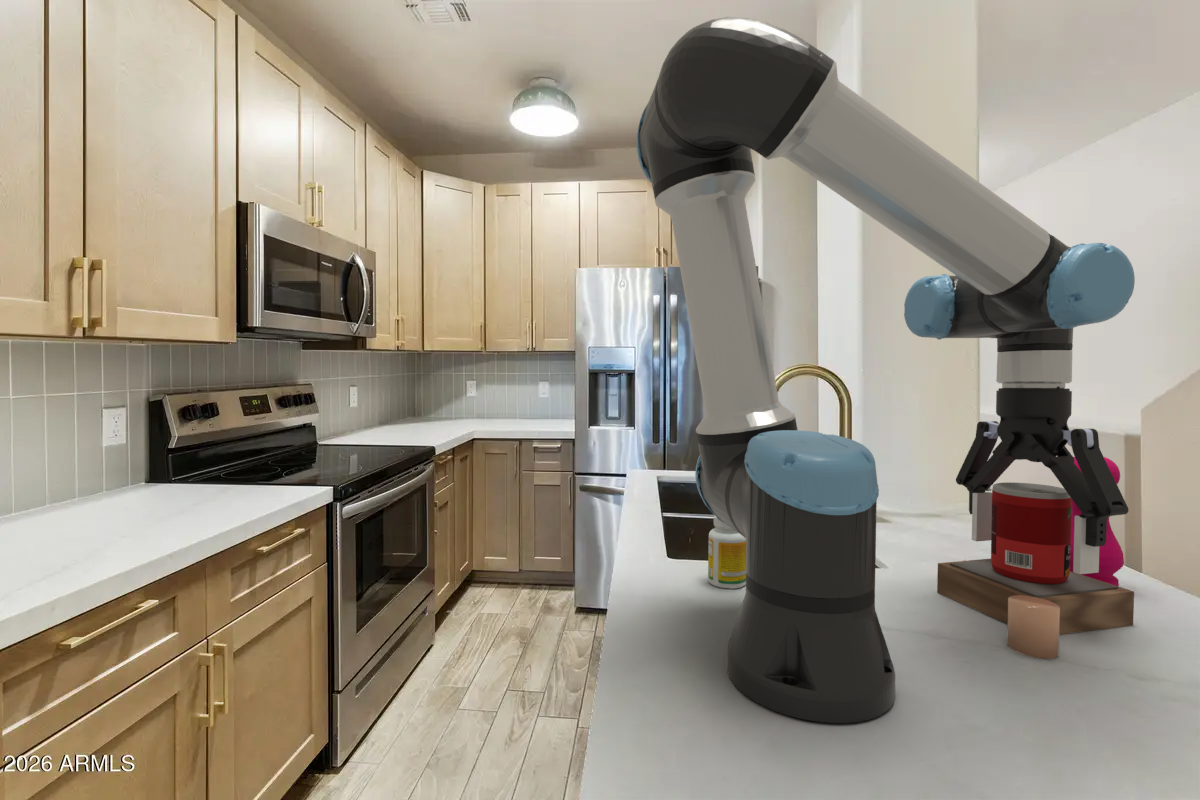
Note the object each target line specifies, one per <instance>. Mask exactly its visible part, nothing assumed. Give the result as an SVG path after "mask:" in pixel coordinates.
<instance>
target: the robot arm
mask: <svg viewBox="0 0 1200 800" xmlns="http://www.w3.org/2000/svg"><path fill="white" fill-rule="evenodd" d="M838 76H839V75H838V66H837V62H836V61H835V60H834V59H832V57H829V56H828V55H827V54H826V53H824V52H823V51H821V50H820V49H818V48H817V47H815V46H814V45H812V44H811V43H809V42H808V41H806V40H804V39H803V38H801V37H799V36H798V35H796V34H794V33H792V32H790V31H788V30H786V29H784V28H781V27H778V26H777V25H774V24H771V23H768V22H766V21H765V22H764V21H760V20H756V19H752V18H747V17H735V16H734V17H731V16H726V17H725V16H724V17H719V18H714V19H710V20H707V21H705V22H702V23H700V24H699V25H696V26H694V27H692V28H690V29H689V30H687V32H685V33H684V34H683V35H682V36H681V37H679V39H678V40H677V41H676V42H675V44H674V45H673V46H672V47H671V48H670V50H669V51H668V53H667V55H666V57H665V59H664V61H663V62H662V65H661V68H660V71H659V75H658V77H657V79H656V82H655V86H654V88H653V90H652V93H651V95H650V98H649V99H648V100H649V101H648V102H647V104H646V106H645V108H644V109H643V112H642V113H641V117H640V119H639V123H638V128H637V134H636V152H637V159H638V162H639V166H640V168H641V170H642V172H643V174H644V175H645V178H646V179H647V180H648V181H649V182H650V183H651V188H652V192H653V197H654V203H655V206H656V207H658V208H659V209H660V210H662V212H664V213H667V215H669V216H670V218H671V224H672V229H673V230H672V231H673V236H674V241H675V246H676V254H677V259H678V262H679V263H678V264H679V270H680V274H681V275H680V277H681V281H682V286H683V293H684V297H685V298H684V299H685V305H686V309H687V314H688V319H689V321H688V322H689V325H690V332H691V339H692V343H693V350H694V354H695V360H696V365H697V372H698V378H699V383H700V388H701V394H702V395H701V396H702V400H703V406H704V411H705V413H704V417H702V419H701V421H700V422H699V424H698V425H697V427H696V428H695V433H696V439H697V446H698V451H699V456H698V458H697V460H696V465H695V472H694V473H695V475H694V476H695V477H694V478H695V483H696V484H695V485H696V488H697V491H698V493H699V495H700V498H701V499H702V502H703V503H704V505H705V507H707V508H708V511H710V513H712V514H713V517H714V516H716V517H717V519H719V520H720V521H722V522H724V523H725V524H726V525H728V526H730V527H731V528H733V529H734V530H735V531H737V532H738V533H740V534H741V535H742V536H744V537H745V538H746V584H745V594H744V596H743V600H742V603H741V606H740V609H739V611H738V615H737V617H736V620H735V623H734V627H733V630H732V633H731V636H730V638H729V640H728V644H727V652H726V653H727V654H726V655H727V656H726V657H727V660H726V662H727V666H726V667H727V674H728V675H727V676H729V679H730V681H731V682H732V684H733V685H734V686H735V687H736V688H737V690H739V691H740V692H741V693H743V694H744V696H746V697H747V698H749V699H750V700H752V701H754V702H756V703H757V704H760V706H763V707H765V708H768V709H770V710H772V711H774V712H778V713H780V714H783V715H786V716H789V717H793V718H798V719H800V720H801V719H802V720H807V721H813V722H820V723H830V724H832V723H833V724H845V723H846V724H848V723H858V722H864V721H867V720H871V719H874V718H878V717H879V716H882V715H883V714H885V713H886V712H888V711H889V710H890V709H891V708H892V707H893V704H894V703H895V699H896V671H895V667H894V664H893V661H892V659H891V655H890V651H889V648H888V645H887V641H886V638H885V636H884V633H883V630H882V629H883V628H882V627H881V624H880V621H879V618H878V615H877V614H878V613H877V612H876V602H875V601H876V557H877V556H876V552H877V551H876V549H877V539H876V538H877V508H878V507H877V506H878V505H877V500H878V498H879V495H880V494H879V491H880V488H879V484H878V478H877V477H878V475H877V468H876V460H875V457H874V455H873V453H872V452H871V451H870V449H869V448H868V447H867V446H865V445H864V444H862V443H860V442H858V441H856V440H853V439H850V438H848V437H844V436H841V435H836V434H826V433H822V432H819V431H811V430H798V425H797V420H796V418H797V417H796V415H795V413H794V412H793V411H791V410H790V409H788V408H787V407H786V406H784V405H783V404H782V403H781V402H780V401H779V396H778V395H779V394H778V389H777V384H776V382H777V381H776V378H775V371H774V365H773V360H772V354H771V348H770V342H769V336H768V330H767V324H766V319H765V318H766V317H765V313H764V312H765V311H764V307H763V306H764V305H763V300H762V294H761V288H760V282H759V276H758V270H757V266H756V265H757V264H756V258H755V254H754V253H755V252H754V246H753V241H752V234H751V230H750V224H749V216H748V212H747V206H746V200H745V199H746V197H747V194H748V193H749V191H750V190H751V189H752V188H753V186H754V183H756V182H755V181H756V174H755V168H754V162H753V161H754V160H753V156H752V151H751V150H753V151H754V152H756V153H757V154H759V155H760V156H762V157H763V158H764V159H765V160H768V161H769V160H772V159H773V160H774V159H777V158H785V159H787V160H788V161H789V162H791V163H792V164H794V165H795V166H796V167H798V168H799V169H801V170H802V171H804V172H805V173H807V174H808V175H810V176H811V177H813V179H815V180H817V181H818V182H820V183H821V184H822V185H824V186H825V187H827V188H829V189H830V190H831V191H833V192H835V193H836V194H837V195H839V196H840V197H842V198H843V199H845V200H846V201H848V202H849V203H850V204H852V205H853V206H855V207H856V208H858V209H859V210H860V211H862V212H863V213H865V214H866V215H868V216H869V217H871V218H872V219H873V220H875V221H876V222H878V223H879V224H880V225H882V226H884V227H885V228H887V229H888V230H890V231H891V232H892V233H894V234H895V235H897V236H898V237H900V238H901V239H903V240H904V241H905V242H907V243H908V244H910V245H911V246H913V247H914V248H916V249H917V250H918V251H920V252H921V253H923V254H924V255H926V256H927V257H928V258H930V259H931V260H933V261H934V262H936V263H937V264H938V265H940V266H942V267H943V268H945V269H946V270H947V271H949V272H950V273H952V274H953V275H948V274H947V273H945V274H941V275H929V276H928V275H927V276H923V277H920V278H919V279H917V280H916V281H915V282H914V283H913V284H912V285H911V287H910V288H909V289H908V292H907V294H906V296H905V300H904V305H903V307H904V313H903V317H904V320H905V324H906V327H907V328H908V330H909V331H910V332H911V333H912V334H913V335H915V336H917V337H921V338H931V339H932V338H933V339H937V340H942V339H996V342H997V343H996V344H997V345H996V347H997V349H996V350H997V351H996V352H997V358H996V380H995V381H996V382H997V384H1001V386H1002V387H1000V388H998V390H996V391H995V392H996V394H995V396H996V398H995V399H996V401H995V404H996V405H995V414H996V415H997V416H998V417H1000V421H999V422H998V421H995V420H990V421H989V420H988V421H987V420H986V421H984V420H983V421H978V422H977V424H976V430H975V437H974V440H973V442H972V444H971V446H970V448H969V450H968V452H967V453H966V457H965V458H964V461H963V463H962V465H961V467H960V469H959V471H958V474H956V475H957V476H956V478H955V482H956V484H957V485H959V486H961V485H962V487H965V488H966V490H967V491H968V512H969V514H970V515H972V516H971V541H974V542H987V541H988V542H990V541H991V522H992V488H991V486H993V485H994V484H995V482H996V481H997V480H998V479H999V478H1000V477H1001V476H1002V475H1003V474H1004V472H1006V470H1007V469H1008V468H1009V467H1010V466H1011V465H1012V464H1013V463H1014V462H1015V461H1016V460H1019V461H1020V460H1021V461H1023V460H1027V461H1030V462H1032V463H1033V462H1034V463H1042V465H1044V467H1046V468H1048V469H1049V470H1051V472H1052V473H1053V475H1054V477H1056V479H1057V480H1058V482H1059V483H1060V485H1061V486H1062V488H1064V489H1065V490H1066V491H1067V493H1068V494H1069V496H1070V497H1071V498H1072V500H1073V501H1074V502H1075V504H1076V505H1077V507H1078V508H1079V509H1080V511H1081V512H1082V513H1081V515H1078V516H1075V521H1074V561H1073V572H1074V573H1078V574H1088V573H1098V572H1099V546H1104V545H1105V543H1106V532H1107V519H1108V518H1109V519H1110V517H1113V516H1115V517H1116V516H1121V515H1127V514H1128V513H1129V507H1128V505H1127V503H1126V500H1125V498H1124V496H1123V494H1122V493H1121V490H1120V488H1119V485H1118V484H1116V482H1115V480H1114V477H1113V475H1112V473H1111V471H1110V469H1109V467H1108V465H1107V463H1106V461H1105V459H1104V457H1105V456H1104V455H1103V453H1102V451H1101V449H1100V442H1099V441H1100V440H1099V433H1098V431H1097V429H1096V428H1074V429H1071V430H1070V428H1069V426H1068V420H1069V419H1070V417H1071V416H1072V407H1073V406H1072V401H1073V400H1072V399H1073V390H1071V388H1066V384H1070V383H1071V382H1072V381H1073V346H1074V344H1073V343H1074V341H1073V338H1074V328H1077V327H1079V326H1085V325H1092V324H1099V323H1103V322H1106V321H1109V320H1111V319H1112V318H1115V317H1116V316H1117V315H1119V314H1120V313H1121V312H1122V311H1123V310H1124V309H1125V307H1126V306H1127V305H1128V304H1129V300H1130V299H1131V297H1132V295H1133V293H1134V290H1135V279H1136V277H1135V272H1134V267H1133V265H1132V262H1131V260H1129V258H1128V256H1127V255H1126V254H1125V253H1124V252H1123V251H1122V250H1121V249H1120V248H1118V247H1116V246H1115V245H1112V244H1108V243H1103V242H1094V243H1093V242H1092V243H1083V242H1082V243H1079V244H1075V245H1072V246H1071V247H1070V246H1068V245H1066V244H1065V243H1063V241H1061V240H1059V239H1058V238H1057V237H1055V236H1054V235H1052V234H1051V233H1049V231H1047V230H1045V228H1043V227H1041V225H1039V224H1038V223H1036V222H1035V221H1033V220H1032V219H1031V218H1029V217H1028V216H1027V215H1025V214H1024V213H1023V212H1021V211H1019V210H1018V209H1016V208H1015V207H1014V206H1012V205H1011V204H1010V203H1009V202H1007V201H1006V200H1005V199H1003V198H1002V197H1000V196H999V195H997V194H996V193H995V192H993V191H992V190H991V189H989V188H988V187H986V186H985V185H984V184H982V182H981V183H980V182H979V181H978V180H977V179H975V178H974V177H973V176H971V175H970V174H968V173H967V172H965V171H964V170H963V169H961V168H960V167H959V166H957V165H956V164H955V163H953V162H952V161H950V160H949V159H947V158H946V157H945V156H943V155H942V154H941V153H939V152H938V151H937V150H935V149H934V148H932V147H931V146H930V145H928V144H927V143H926V142H924V141H922V139H920V138H918V136H916V135H914V134H913V133H912V132H910V131H909V130H907V129H906V128H905V127H903V126H902V125H901V124H899V123H898V122H897V121H895V120H894V119H892V118H891V117H889V116H888V115H887V114H886V113H884V112H882V111H881V110H879V108H877V107H876V106H874V105H873V104H871V102H869V101H867V100H866V99H865V98H863V97H862V96H861V95H859V94H857V93H856V92H855V91H854V90H852V89H851V88H849V87H848V85H847V86H846V85H845V84H844V83H843V82H841V81H840V80H839V78H838ZM998 438H999V439H1000V440H1001V441H1000V442H999V444H998V445H997V446H996V444H997V441H998ZM1067 445H1068V446H1070V447H1071V450H1072V452H1073V454H1071V452H1070V451H1069V449H1067V447H1066V446H1067ZM995 446H996V447H995ZM1074 457H1075V458H1076V460H1077V462H1078V465H1079V467H1080V469H1081V471H1082V472H1081V471H1080V470H1079V468H1078V467H1077V466H1076V465H1075V463H1074V461H1075V459H1074ZM1082 473H1083V474H1082ZM989 491H991V492H989Z"/></svg>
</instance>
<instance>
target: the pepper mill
mask: <svg viewBox="0 0 1200 800" xmlns="http://www.w3.org/2000/svg"><path fill="white" fill-rule="evenodd" d="M1073 457H1074V459H1075V461H1074V463H1075V465H1076V466H1077V467H1078V468H1079V470H1080V471H1081V469H1080V467H1079V465H1078V462H1077V460H1076V458H1075V456H1073ZM1103 457H1104V459H1105V461H1106V463H1107V465H1108V467H1109V469H1110V471H1111V473H1112V475H1113V477H1114V480H1115V482H1116V484H1117V485H1118V484H1119V482H1120V479H1121V471H1120V468H1119V466H1118V465H1117V464H1116V462H1114V461H1113V460H1112V459H1110V458H1108V457H1106V456H1103ZM1081 472H1082V471H1081ZM1082 474H1083V473H1082ZM1081 513H1082V512H1081V511H1080V509H1079V508H1078V507H1077V505H1076V504H1075V502H1074V501H1073V500H1072V517H1071V548H1070V571H1071V572H1073V561H1074V521H1075V516H1078V515H1081ZM1124 564H1125V559H1124V552H1123V550H1122V546H1121V545H1120V543H1119V541H1118V539H1117V537H1116V536H1115V534H1114V532H1113V529H1112V527H1111V523H1110V517H1109V518H1108V519H1107V532H1106V543H1105V545H1104V546H1099V572H1098V573H1088V574H1081V575H1084V576H1087V577H1090V578H1093V579H1096V580H1099V581H1103V582H1106V583H1109V584H1112V585H1115V586H1118V587H1119V584H1120V583H1119V579H1118V578H1117V576H1115V574H1116V573H1117V572H1119V571H1120V570H1121V569H1122V568H1123V567H1124ZM1077 574H1078V573H1077Z"/></svg>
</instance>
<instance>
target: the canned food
mask: <svg viewBox="0 0 1200 800" xmlns="http://www.w3.org/2000/svg"><path fill="white" fill-rule="evenodd" d="M991 489H992V490H991V493H992V522H991V540H990V559H991V564H992V567H993V569H994V571H996V572H997V573H999V574H1001V575H1003V576H1006V577H1009V578H1012V579H1016V580H1020V581H1025V582H1032V583H1040V584H1060V583H1064V582H1066V581H1067V578H1068V576H1069V574H1070V548H1071V517H1072V498H1071V497H1070V496H1069V494H1068V493H1067V491H1066V490H1065V489H1064V487H1059V486H1054V485H1048V484H1047V485H1046V484H1039V483H1030V482H1029V483H1026V482H997V483H993V484H992V488H991Z"/></svg>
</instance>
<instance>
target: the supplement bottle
mask: <svg viewBox="0 0 1200 800" xmlns="http://www.w3.org/2000/svg"><path fill="white" fill-rule="evenodd" d="M713 526H714V528H712V529H711V530H710V531H709V533H708V546H707V547H708V548H707V549H708V552H707V553H708V559H707V560H708V561H707V564H708V566H707V576H708V579H707V580H708V582H709V583H710V584H711V585H712V586H714V587H717V588H722V589H731V590H732V589H741V588H743V587H744V586H746V538H745V537H744V536H742V535H741V534H740V533H738V532H737V531H735V530H734V529H733V528H731V527H730V526H728V525H726V524H725V523H724V522H722V521H720V520H719V519H717V517H716V516H714V515H713Z"/></svg>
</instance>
